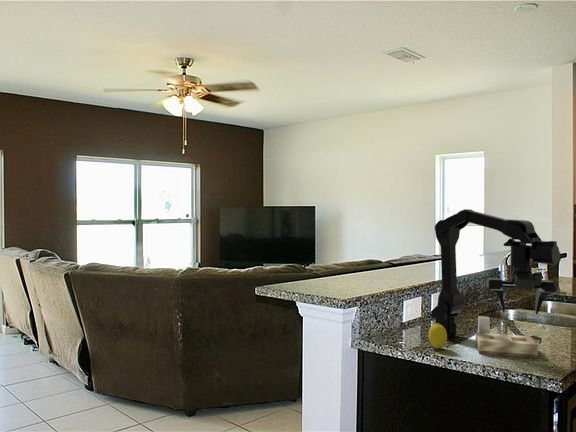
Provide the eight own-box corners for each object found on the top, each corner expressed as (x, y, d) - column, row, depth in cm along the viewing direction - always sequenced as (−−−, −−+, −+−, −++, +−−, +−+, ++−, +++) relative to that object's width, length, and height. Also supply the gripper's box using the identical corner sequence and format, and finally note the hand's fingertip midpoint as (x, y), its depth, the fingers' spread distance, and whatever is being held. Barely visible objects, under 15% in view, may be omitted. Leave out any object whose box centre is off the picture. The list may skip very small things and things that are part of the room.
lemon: (434, 351, 152) (435, 325, 152) (424, 347, 157) (425, 321, 157) (450, 350, 153) (450, 324, 153) (440, 345, 159) (440, 320, 158)
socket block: (479, 353, 150) (479, 340, 150) (475, 345, 160) (475, 332, 160) (537, 358, 146) (537, 344, 146) (530, 349, 156) (530, 336, 156)
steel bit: (478, 342, 163) (479, 318, 163) (477, 340, 166) (478, 316, 166) (489, 343, 162) (489, 318, 162) (488, 341, 165) (488, 316, 165)
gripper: (491, 263, 146) (490, 316, 146) (562, 265, 141) (561, 320, 142) (486, 259, 157) (485, 309, 157) (551, 261, 152) (551, 312, 153)
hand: (519, 313), depth 152 cm, fingers open, 9 cm apart
